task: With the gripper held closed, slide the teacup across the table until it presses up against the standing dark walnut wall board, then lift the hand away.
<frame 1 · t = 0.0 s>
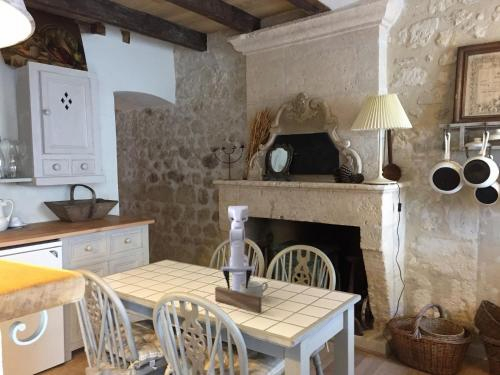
hand: (237, 288, 170), 11 cm above the table, tool pointing down, fingers open, 7 cm apart
wall board: (237, 306, 178), on the table
teacup: (254, 299, 188), on the table
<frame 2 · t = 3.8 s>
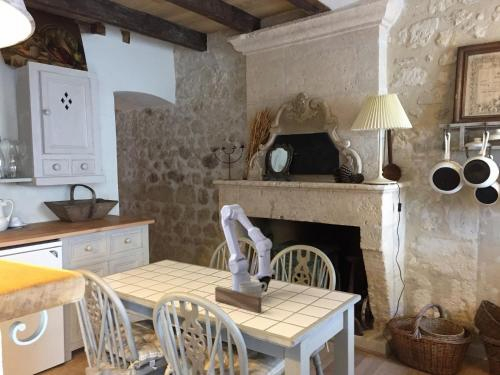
hand: (264, 291, 194), 2 cm above the table, tool pointing down, fingers closed
teacup: (253, 300, 187), on the table, touching gripper
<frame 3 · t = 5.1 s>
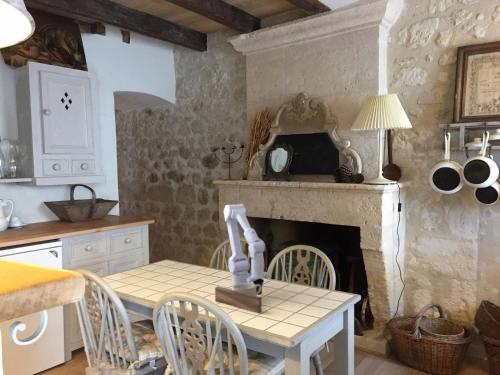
hand: (258, 294, 189), 2 cm above the table, tool pointing down, fingers closed, pressing on teacup
teacup: (248, 302, 184), on the table, touching gripper, wall board
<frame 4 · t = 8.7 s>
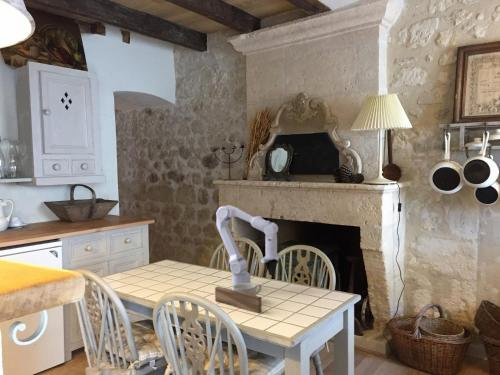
hand: (271, 274, 196), 9 cm above the table, tool pointing down, fingers closed
teacup: (248, 302, 184), on the table, touching wall board
at the end: teacup 0.9 cm from the target spot, on the table; teacup tilted 0°; teacup moved 4.9 cm from its start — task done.
